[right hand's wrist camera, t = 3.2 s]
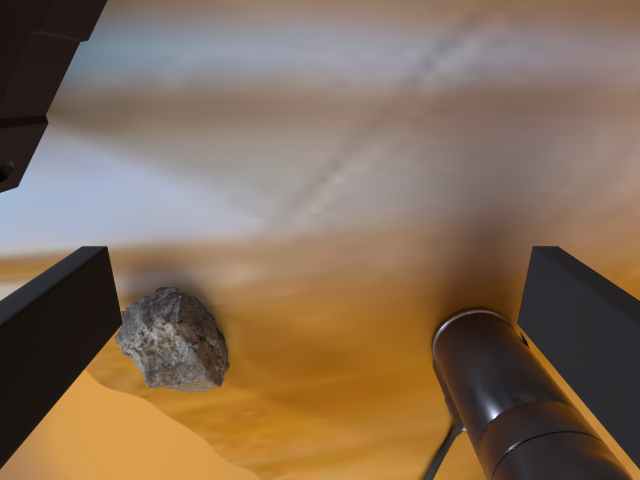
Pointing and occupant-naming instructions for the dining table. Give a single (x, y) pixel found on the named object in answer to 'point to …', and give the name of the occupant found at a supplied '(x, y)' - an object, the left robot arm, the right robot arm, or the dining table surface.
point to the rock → (174, 342)
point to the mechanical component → (35, 71)
